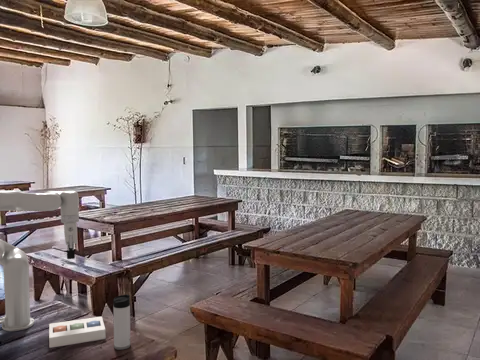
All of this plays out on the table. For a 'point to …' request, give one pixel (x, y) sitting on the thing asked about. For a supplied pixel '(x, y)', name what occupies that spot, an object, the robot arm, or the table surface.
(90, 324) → the slate button
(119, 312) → the travel mug
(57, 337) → the button box
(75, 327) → the sage button
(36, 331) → the table surface
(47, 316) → the table surface
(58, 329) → the terracotta button
